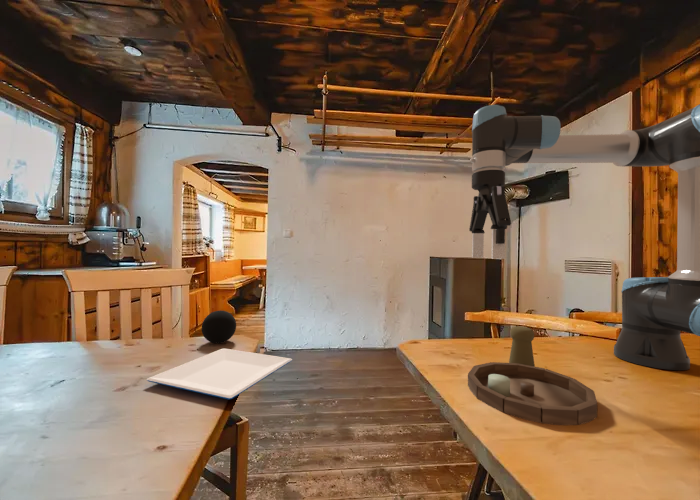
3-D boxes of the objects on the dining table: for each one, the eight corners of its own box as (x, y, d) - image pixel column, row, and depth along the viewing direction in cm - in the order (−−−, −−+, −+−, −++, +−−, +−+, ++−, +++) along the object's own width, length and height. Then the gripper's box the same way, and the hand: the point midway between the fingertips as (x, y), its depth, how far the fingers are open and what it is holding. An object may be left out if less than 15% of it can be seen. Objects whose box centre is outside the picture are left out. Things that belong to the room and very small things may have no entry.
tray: (551, 378, 72) (552, 364, 72) (631, 434, 50) (631, 413, 50) (456, 374, 73) (456, 360, 74) (492, 427, 52) (492, 406, 52)
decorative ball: (197, 348, 90) (197, 314, 90) (206, 338, 100) (206, 308, 100) (233, 346, 92) (233, 313, 92) (238, 337, 102) (238, 307, 102)
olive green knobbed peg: (539, 377, 73) (540, 330, 73) (512, 374, 74) (512, 329, 74) (530, 367, 79) (530, 324, 79) (504, 365, 80) (505, 323, 80)
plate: (145, 388, 65) (145, 378, 65) (222, 354, 86) (223, 347, 86) (230, 408, 57) (230, 397, 57) (293, 366, 78) (293, 358, 78)
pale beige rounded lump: (504, 388, 64) (504, 374, 64) (513, 397, 60) (513, 382, 60) (485, 387, 64) (485, 373, 64) (492, 396, 60) (492, 381, 60)
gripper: (458, 183, 89) (457, 257, 88) (491, 156, 64) (490, 259, 64) (485, 183, 88) (484, 257, 88) (529, 156, 63) (528, 259, 63)
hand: (487, 258), depth 76 cm, fingers open, 13 cm apart
